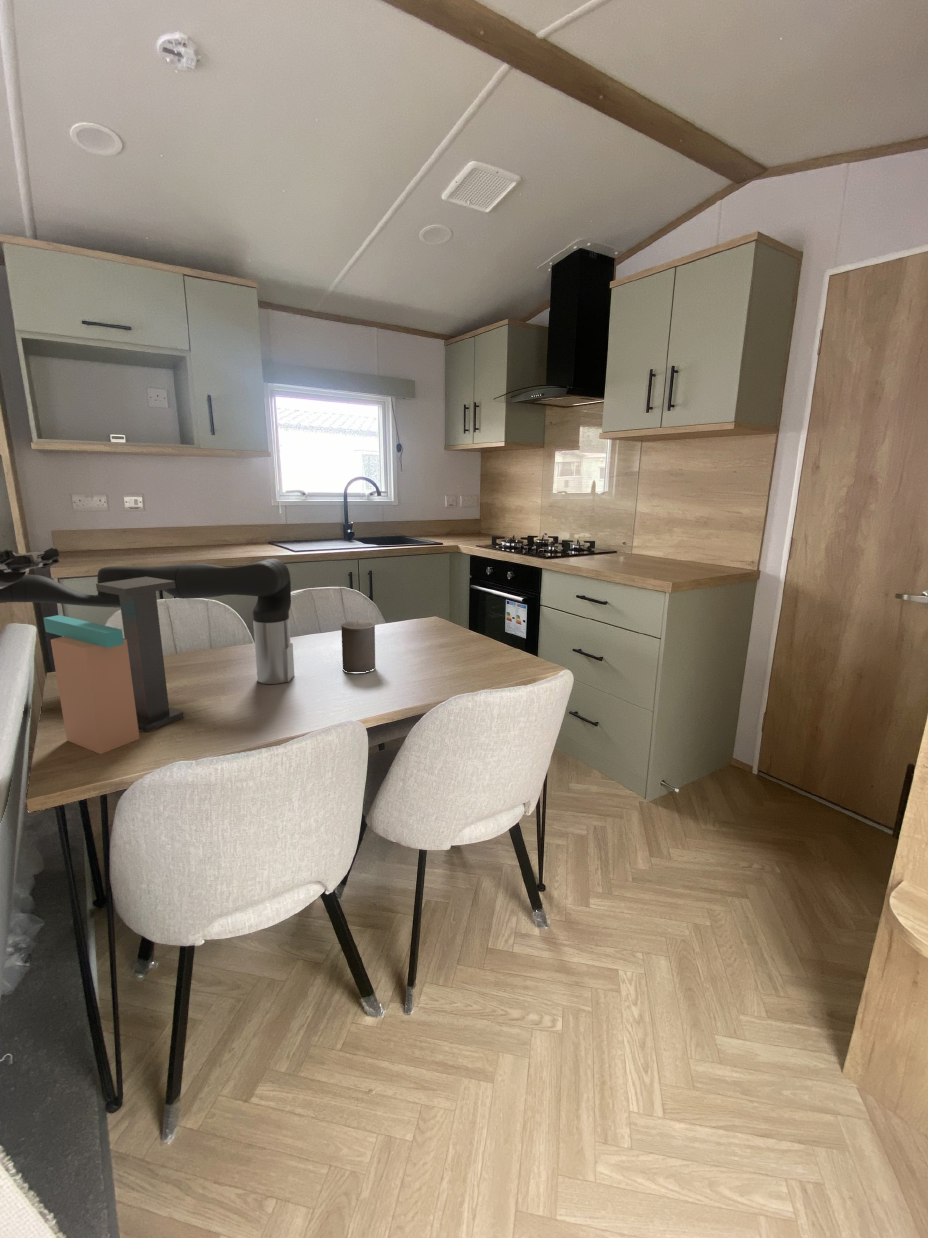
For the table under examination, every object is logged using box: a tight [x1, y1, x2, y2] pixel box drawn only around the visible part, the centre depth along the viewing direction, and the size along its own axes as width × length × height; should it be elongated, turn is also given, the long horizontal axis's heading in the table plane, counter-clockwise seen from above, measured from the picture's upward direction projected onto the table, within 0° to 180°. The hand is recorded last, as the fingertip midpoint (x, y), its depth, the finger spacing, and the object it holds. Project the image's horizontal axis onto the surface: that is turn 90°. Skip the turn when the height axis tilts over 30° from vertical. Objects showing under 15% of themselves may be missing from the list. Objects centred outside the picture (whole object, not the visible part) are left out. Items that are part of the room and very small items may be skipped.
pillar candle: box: [341, 619, 376, 672], centre depth 162 cm, size 10×10×15 cm
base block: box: [50, 636, 140, 755], centre depth 114 cm, size 12×8×22 cm, turn 62°
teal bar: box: [43, 614, 124, 648], centre depth 112 cm, size 22×3×3 cm, turn 62°
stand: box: [95, 577, 185, 734], centre depth 123 cm, size 10×11×32 cm
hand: (34, 552), depth 119 cm, fingers open, 8 cm apart
